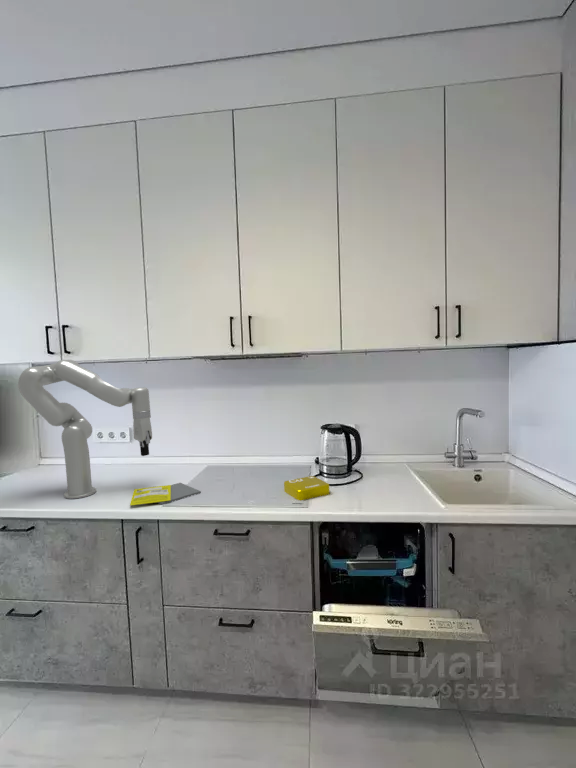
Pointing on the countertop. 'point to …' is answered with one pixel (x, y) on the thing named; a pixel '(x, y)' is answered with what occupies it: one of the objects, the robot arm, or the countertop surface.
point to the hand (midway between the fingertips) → (145, 455)
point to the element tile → (306, 488)
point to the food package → (151, 495)
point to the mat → (180, 492)
